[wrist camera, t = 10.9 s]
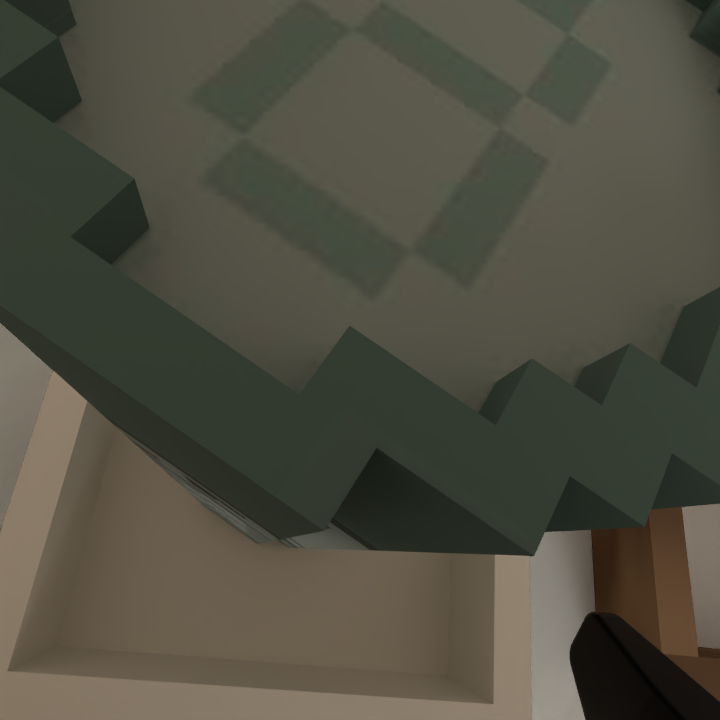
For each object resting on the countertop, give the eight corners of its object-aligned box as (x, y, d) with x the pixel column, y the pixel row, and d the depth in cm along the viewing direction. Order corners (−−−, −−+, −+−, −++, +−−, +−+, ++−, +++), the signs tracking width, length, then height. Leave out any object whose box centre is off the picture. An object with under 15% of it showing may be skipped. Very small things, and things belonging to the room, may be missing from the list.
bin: (467, 709, 16) (531, 755, 13) (16, 679, 14) (-63, 723, 11) (476, 328, 21) (525, 280, 17) (136, 265, 19) (109, 197, 15)
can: (412, 420, 18) (934, 22, 4) (313, 582, 16) (749, 823, 2) (268, 321, 18) (328, -368, 5) (149, 467, 16) (-473, -22, 2)
